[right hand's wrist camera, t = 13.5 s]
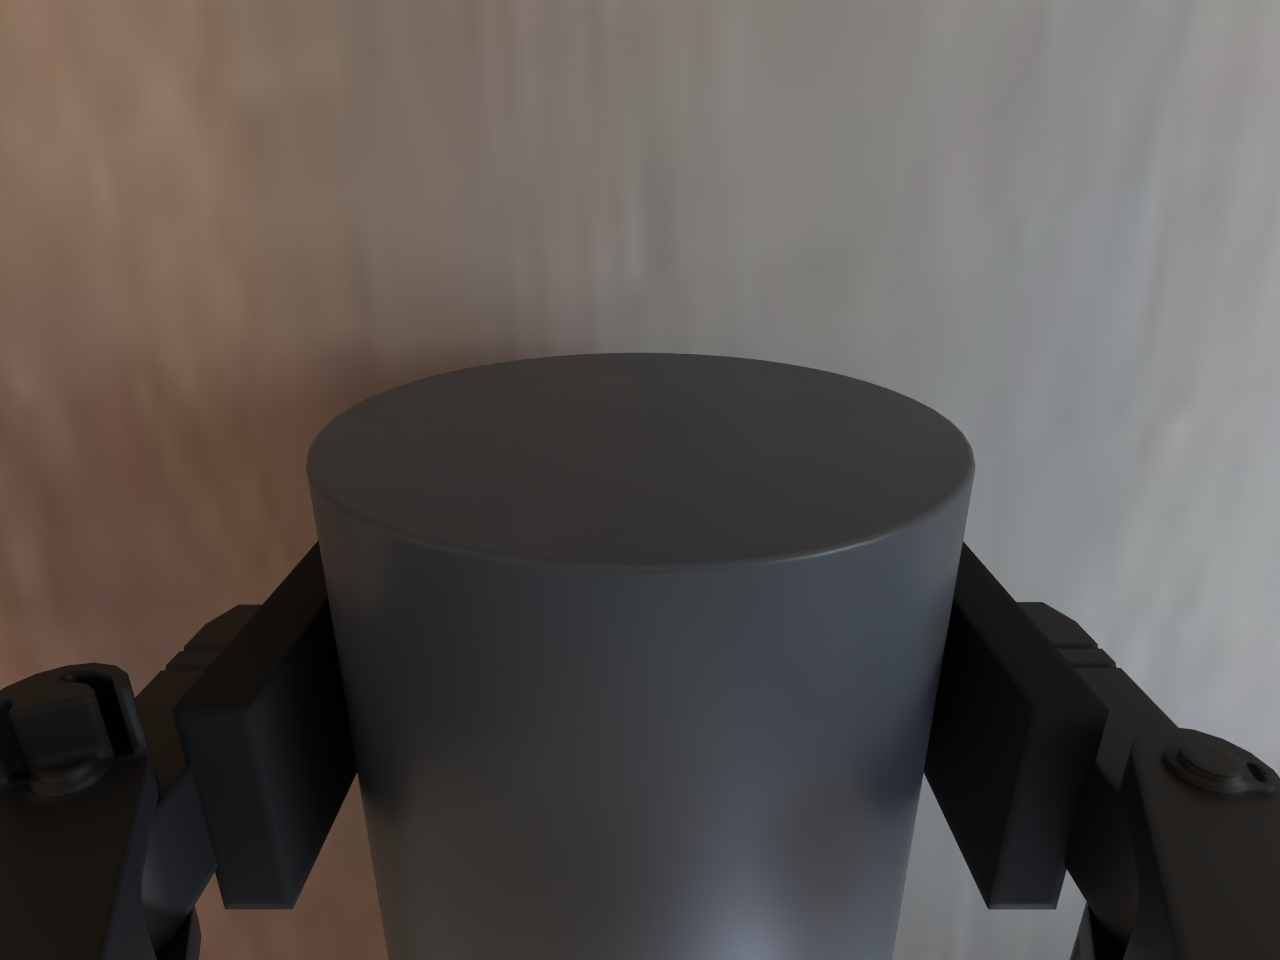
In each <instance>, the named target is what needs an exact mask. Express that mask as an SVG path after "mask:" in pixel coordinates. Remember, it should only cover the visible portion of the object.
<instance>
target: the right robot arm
mask: <svg viewBox="0 0 1280 960" xmlns="http://www.w3.org/2000/svg"><path fill="white" fill-rule="evenodd" d="M356 773H357V766H356V760H355V754H354V748H353V742H352V736H351V731H350V725H349V719H348V713H347V707H346V701H345V695H344V689H343V683H342V677H341V671H340V665H339V659H338V653H337V647H336V641H335V635H334V629H333V623H332V617H331V611H330V605H329V599H328V593H327V587H326V581H325V575H324V570H323V564H322V558H321V552H320V546H319V540H318V542H317V543H316V544H315V545H314V546H313V547H312V549H311V550H310V551H309V552H308V553H307V554H306V555H305V557H304V558H303V559H302V560H301V561H300V562H299V563H298V565H297V566H296V567H295V568H294V569H293V570H292V571H291V573H290V574H289V575H288V576H287V577H286V578H285V580H284V581H283V582H282V583H281V584H280V585H279V586H278V588H277V589H276V590H275V591H274V592H273V593H272V594H271V596H270V597H269V598H268V599H267V600H266V601H265V603H264V604H263V605H237V606H236V607H234V608H232V609H231V610H229V611H227V612H226V613H224V614H222V615H220V616H219V617H217V618H215V619H214V620H212V621H210V622H209V623H207V624H205V625H204V627H203V628H202V629H201V630H200V631H199V632H198V633H197V634H196V635H195V636H194V637H193V638H192V639H191V640H190V641H189V642H188V643H187V644H186V645H185V646H184V651H180V652H179V653H178V654H177V655H176V656H175V657H174V658H173V659H172V660H171V661H170V662H169V663H168V664H167V665H166V670H165V671H160V672H159V673H158V675H157V676H156V677H155V678H154V679H153V680H152V681H151V682H150V683H149V684H148V685H147V686H146V687H145V688H144V689H143V690H142V691H141V692H140V693H139V694H138V695H137V696H136V697H134V694H133V690H132V687H131V683H130V680H129V676H128V674H127V673H126V672H124V671H123V670H121V669H120V668H118V667H117V666H115V665H107V664H99V663H88V664H78V665H69V666H64V667H60V668H56V669H53V670H49V671H45V672H42V673H38V674H35V675H33V676H30V677H28V678H26V679H23V680H21V681H19V682H16V683H14V684H12V685H10V686H7V687H5V688H4V689H2V690H1V691H0V960H199V953H200V944H201V931H200V925H199V920H198V916H197V913H196V909H195V906H194V905H195V903H196V902H197V900H198V898H199V897H200V895H201V893H202V892H203V890H204V889H205V887H206V885H207V884H208V882H209V880H210V879H211V877H212V875H213V874H214V872H215V873H216V877H217V881H218V884H219V888H220V892H221V896H222V899H223V903H224V907H225V909H293V907H294V905H295V903H296V901H297V899H298V897H299V895H300V892H301V890H302V888H303V886H304V884H305V882H306V880H307V878H308V875H309V873H310V871H311V869H312V867H313V865H314V863H315V861H316V858H317V856H318V854H319V852H320V850H321V848H322V846H323V844H324V841H325V839H326V837H327V835H328V833H329V831H330V829H331V827H332V824H333V822H334V820H335V818H336V816H337V814H338V812H339V810H340V807H341V805H342V803H343V801H344V799H345V797H346V795H347V792H348V790H349V788H350V786H351V784H352V782H353V780H354V778H355V775H356ZM924 774H925V776H926V778H927V780H928V782H929V784H930V786H931V789H932V791H933V793H934V795H935V797H936V799H937V801H938V803H939V806H940V808H941V810H942V812H943V814H944V816H945V818H946V820H947V823H948V825H949V827H950V829H951V831H952V833H953V835H954V837H955V840H956V842H957V844H958V846H959V848H960V850H961V852H962V854H963V857H964V859H965V861H966V863H967V865H968V867H969V869H970V871H971V874H972V876H973V878H974V880H975V882H976V884H977V886H978V888H979V891H980V893H981V895H982V897H983V899H984V901H985V903H986V905H987V908H988V909H1056V907H1057V903H1058V899H1059V895H1060V892H1061V888H1062V884H1063V881H1064V877H1065V873H1066V869H1067V870H1068V871H1069V873H1070V875H1071V876H1072V878H1073V880H1074V881H1075V883H1076V885H1077V886H1078V888H1079V890H1080V891H1081V893H1082V894H1083V896H1084V898H1085V899H1086V901H1087V902H1086V906H1085V909H1084V913H1083V916H1082V920H1081V923H1080V926H1079V930H1078V933H1077V937H1076V940H1075V944H1074V947H1073V951H1072V954H1071V958H1070V960H1280V778H1279V776H1278V775H1277V774H1276V773H1275V771H1274V770H1273V769H1271V768H1270V767H1269V766H1267V765H1266V764H1265V763H1263V762H1262V761H1261V760H1259V759H1258V758H1257V757H1255V756H1254V755H1253V754H1251V753H1250V752H1248V751H1246V750H1244V749H1242V748H1240V747H1238V746H1236V745H1234V744H1232V743H1230V742H1228V741H1226V740H1224V739H1222V738H1218V737H1215V736H1212V735H1209V734H1206V733H1202V732H1199V731H1196V730H1192V729H1184V728H1178V727H1177V726H1176V725H1175V724H1174V723H1173V722H1172V721H1171V720H1170V719H1169V718H1168V717H1167V716H1166V715H1165V713H1164V712H1163V711H1162V710H1161V709H1160V708H1159V707H1158V706H1157V705H1156V704H1155V703H1154V702H1153V701H1152V700H1151V699H1150V698H1149V697H1148V696H1147V695H1146V694H1145V693H1144V692H1143V691H1142V690H1141V689H1140V688H1139V687H1138V686H1137V684H1136V683H1135V682H1134V681H1133V680H1132V679H1131V678H1130V677H1129V676H1128V675H1127V674H1126V673H1125V672H1124V671H1123V670H1122V669H1121V668H1116V663H1115V662H1114V661H1113V660H1112V659H1111V658H1110V657H1109V655H1108V654H1107V653H1106V652H1105V651H1104V650H1103V649H1098V644H1097V643H1096V642H1095V641H1094V640H1093V639H1092V638H1091V637H1090V636H1089V635H1088V634H1087V633H1086V632H1085V631H1084V630H1083V629H1082V628H1081V626H1080V625H1079V624H1078V623H1077V622H1076V621H1074V620H1072V619H1070V618H1069V617H1067V616H1065V615H1064V614H1062V613H1060V612H1058V611H1057V610H1055V609H1053V608H1052V607H1050V606H1048V605H1046V604H1045V603H1043V602H1016V601H1015V600H1014V599H1013V598H1012V597H1011V596H1010V595H1009V593H1008V592H1007V591H1006V590H1005V589H1004V588H1003V587H1002V585H1001V584H1000V583H999V582H998V581H997V580H996V578H995V577H994V576H993V575H992V574H991V573H990V572H989V570H988V569H987V568H986V567H985V566H984V565H983V564H982V562H981V561H980V560H979V559H978V558H977V557H976V556H975V554H974V553H973V552H972V551H971V550H970V549H969V547H968V546H967V545H966V544H965V543H964V542H963V543H962V549H961V554H960V560H959V566H958V572H957V578H956V584H955V590H954V596H953V602H952V607H951V613H950V619H949V625H948V631H947V637H946V643H945V649H944V655H943V660H942V666H941V672H940V678H939V684H938V690H937V696H936V702H935V708H934V713H933V719H932V725H931V731H930V737H929V743H928V749H927V755H926V761H925V766H924Z"/></svg>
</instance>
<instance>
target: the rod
mask: <svg viewBox="0 0 1280 960" xmlns="http://www.w3.org/2000/svg"><path fill="white" fill-rule="evenodd" d="M306 468H307V474H308V480H309V486H310V492H311V498H312V504H313V510H314V516H315V522H316V528H317V534H318V540H319V546H320V552H321V558H322V564H323V570H324V575H325V581H326V587H327V593H328V599H329V605H330V611H331V617H332V623H333V629H334V635H335V641H336V647H337V653H338V659H339V665H340V671H341V677H342V683H343V689H344V695H345V701H346V707H347V713H348V719H349V725H350V731H351V736H352V742H353V748H354V754H355V760H356V766H357V772H358V778H359V784H360V790H361V796H362V802H363V808H364V814H365V820H366V826H367V832H368V838H369V844H370V850H371V856H372V862H373V868H374V874H375V880H376V886H377V892H378V898H379V903H380V909H381V915H382V921H383V927H384V933H385V939H386V945H387V951H388V957H389V960H892V955H893V949H894V943H895V937H896V931H897V925H898V920H899V914H900V908H901V902H902V896H903V890H904V884H905V878H906V872H907V867H908V861H909V855H910V849H911V843H912V837H913V831H914V825H915V819H916V814H917V808H918V802H919V796H920V790H921V784H922V778H923V772H924V766H925V761H926V755H927V749H928V743H929V737H930V731H931V725H932V719H933V713H934V708H935V702H936V696H937V690H938V684H939V678H940V672H941V666H942V660H943V655H944V649H945V643H946V637H947V631H948V625H949V619H950V613H951V607H952V602H953V596H954V590H955V584H956V578H957V572H958V566H959V560H960V554H961V549H962V543H963V537H964V531H965V525H966V519H967V513H968V507H969V501H970V496H971V490H972V484H973V478H974V472H975V462H974V456H973V451H972V448H971V446H970V444H969V443H968V441H967V439H966V438H965V436H964V434H963V433H962V432H961V431H960V430H959V429H958V428H957V427H956V426H955V425H954V424H953V423H952V422H951V421H949V420H948V419H947V418H945V417H944V416H942V415H941V414H939V413H938V412H936V411H935V410H933V409H931V408H929V407H928V406H926V405H924V404H922V403H920V402H918V401H916V400H914V399H912V398H909V397H907V396H904V395H902V394H899V393H897V392H895V391H892V390H890V389H887V388H884V387H881V386H878V385H875V384H872V383H869V382H866V381H862V380H858V379H855V378H851V377H847V376H844V375H840V374H835V373H831V372H826V371H822V370H817V369H812V368H807V367H801V366H795V365H790V364H784V363H776V362H769V361H762V360H754V359H745V358H735V357H724V356H711V355H696V354H672V353H608V354H584V355H569V356H556V357H545V358H535V359H526V360H518V361H511V362H503V363H496V364H490V365H485V366H479V367H473V368H468V369H463V370H459V371H454V372H449V373H445V374H440V375H437V376H433V377H429V378H426V379H422V380H418V381H415V382H412V383H409V384H406V385H403V386H400V387H397V388H394V389H391V390H388V391H386V392H383V393H381V394H379V395H376V396H374V397H371V398H369V399H367V400H365V401H363V402H361V403H359V404H357V405H355V406H353V407H351V408H349V409H347V410H346V411H345V412H343V413H342V414H340V415H339V416H337V417H336V418H334V419H333V420H331V421H330V422H329V423H328V424H327V425H326V426H325V427H324V428H323V429H322V430H321V431H320V432H319V433H318V435H317V436H316V438H315V440H314V441H313V443H312V445H311V447H310V449H309V453H308V460H307V466H306Z"/></svg>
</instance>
